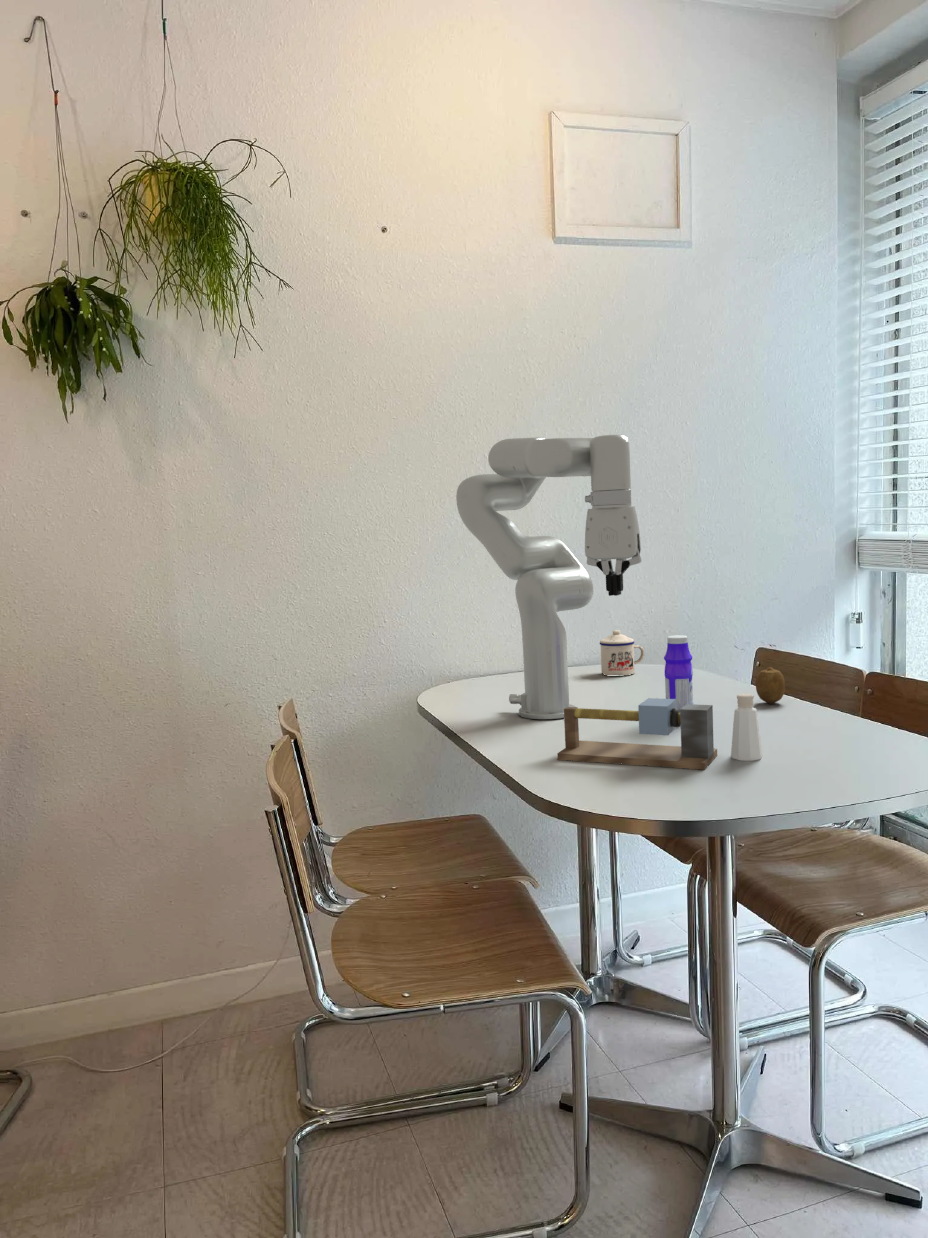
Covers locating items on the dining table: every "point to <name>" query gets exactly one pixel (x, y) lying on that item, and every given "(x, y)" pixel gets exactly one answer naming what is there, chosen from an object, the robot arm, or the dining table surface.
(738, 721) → the pepper shaker
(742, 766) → the dining table surface
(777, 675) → the fruit
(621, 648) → the teacup with lid
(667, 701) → the sleeve
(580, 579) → the robot arm
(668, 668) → the bottle
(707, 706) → the rod stand
